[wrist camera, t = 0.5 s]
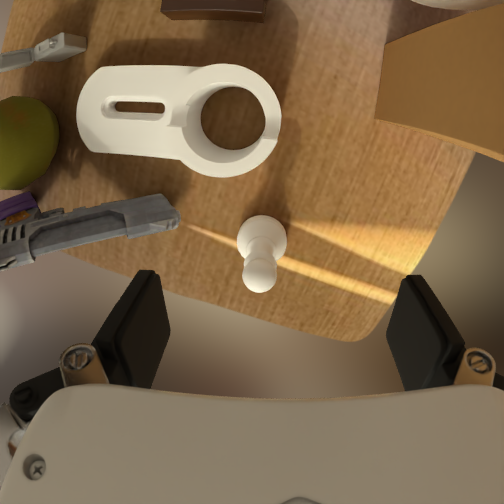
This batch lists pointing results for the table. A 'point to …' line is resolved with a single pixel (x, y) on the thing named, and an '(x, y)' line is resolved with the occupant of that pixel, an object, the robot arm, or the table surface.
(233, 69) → the bracket
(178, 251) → the table surface
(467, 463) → the robot arm
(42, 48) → the grey angled piece
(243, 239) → the chess pawn
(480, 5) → the cup
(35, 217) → the handgun
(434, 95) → the black-topped square pillar
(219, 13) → the holder
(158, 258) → the table surface
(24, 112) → the apple
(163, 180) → the table surface
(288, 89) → the table surface
